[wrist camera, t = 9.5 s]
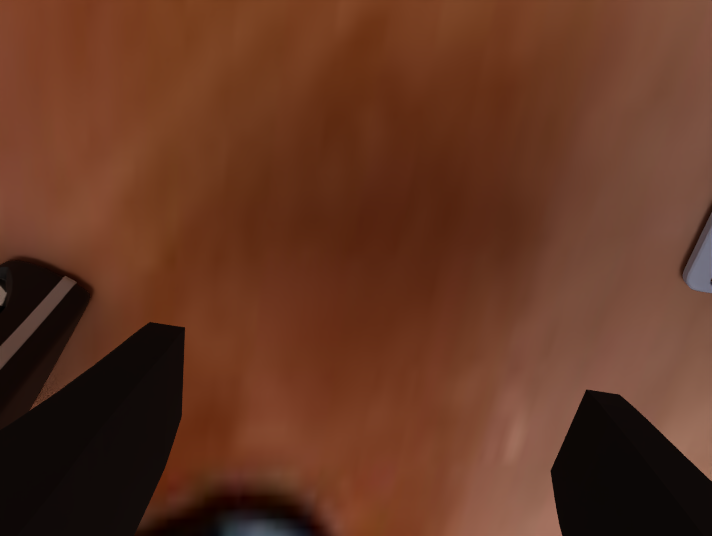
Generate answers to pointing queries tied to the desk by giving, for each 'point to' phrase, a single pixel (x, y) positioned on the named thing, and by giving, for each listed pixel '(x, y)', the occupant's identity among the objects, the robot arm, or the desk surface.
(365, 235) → the desk surface
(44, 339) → the battery charger
